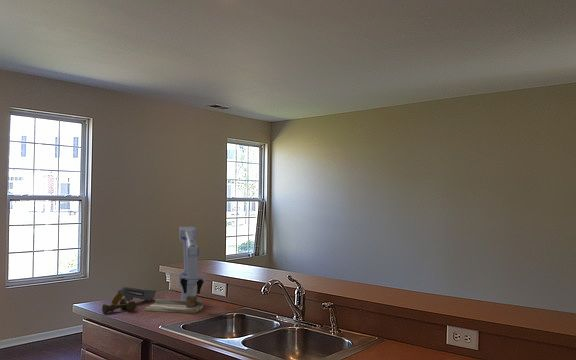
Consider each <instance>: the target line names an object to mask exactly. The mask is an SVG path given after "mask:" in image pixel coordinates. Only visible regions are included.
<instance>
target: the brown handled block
mask: <svg viewBox="0 0 576 360" xmlns="http://www.w3.org/2000/svg"><path fill="white" fill-rule="evenodd" d="M197 301H198V295H196V296H193V295H190V296H188V297H187V302H185V303H186V307H187V308H188V307H190V308H194V307H195V306H197Z"/></svg>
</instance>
